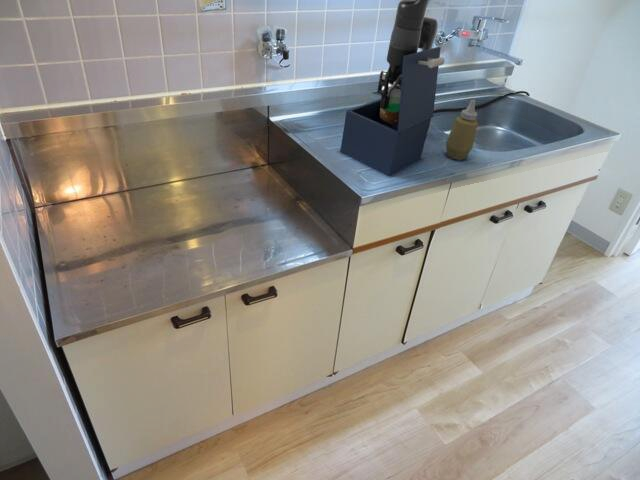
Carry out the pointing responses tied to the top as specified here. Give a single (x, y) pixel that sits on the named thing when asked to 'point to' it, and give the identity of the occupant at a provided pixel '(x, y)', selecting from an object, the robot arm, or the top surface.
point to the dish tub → (381, 139)
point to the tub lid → (418, 87)
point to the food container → (392, 106)
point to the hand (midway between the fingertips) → (391, 105)
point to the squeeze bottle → (462, 133)
